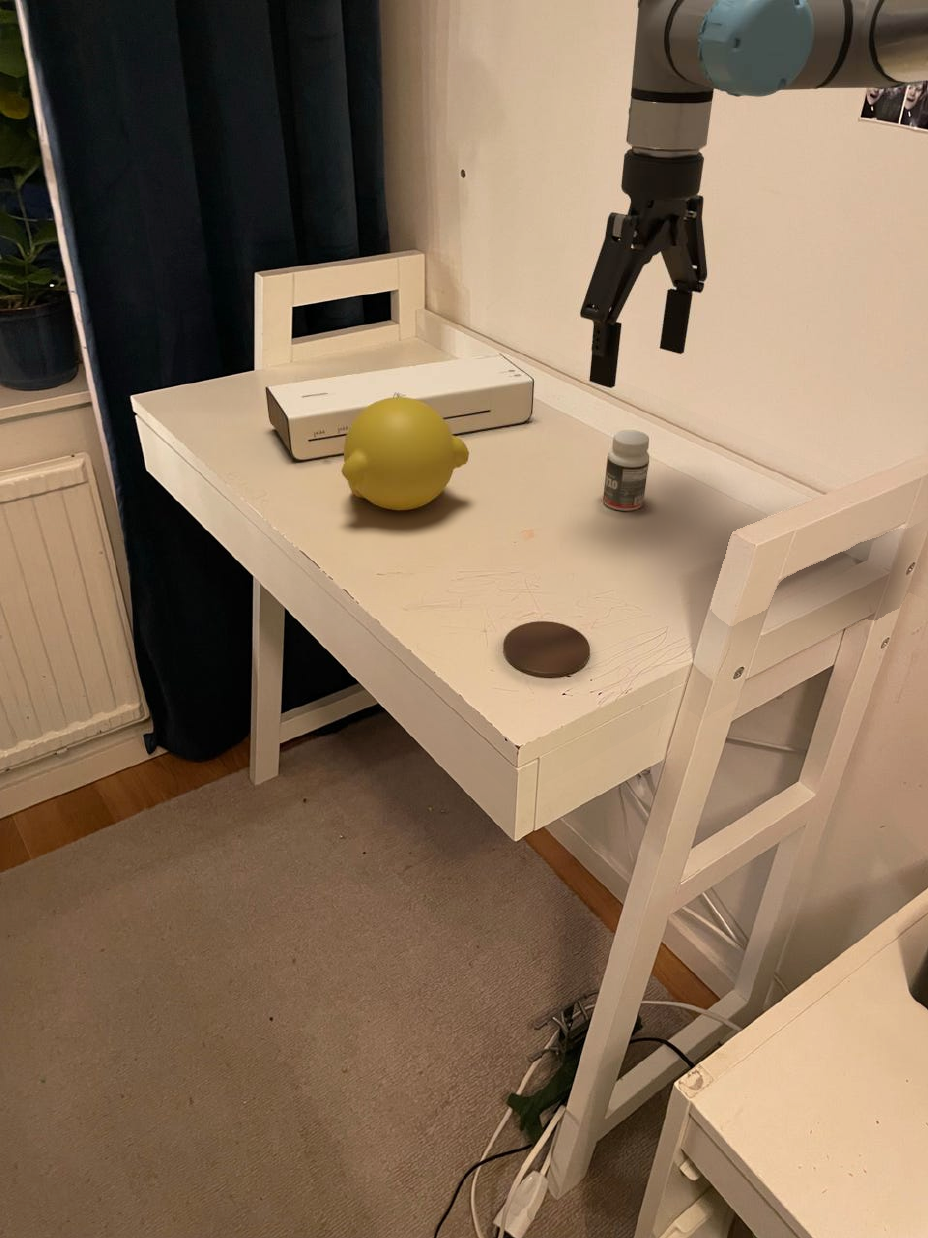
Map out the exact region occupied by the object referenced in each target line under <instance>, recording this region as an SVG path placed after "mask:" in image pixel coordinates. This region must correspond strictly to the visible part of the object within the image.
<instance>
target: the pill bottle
mask: <svg viewBox="0 0 928 1238" xmlns="http://www.w3.org/2000/svg"><path fill="white" fill-rule="evenodd" d="M611 444H612V445H611V447H612V448H610V449H609V451H608V454H607V460H606V469H605V477H604V486H603V495H602V499H603V503H604V505H606V506H607V507H608V508H610V509H612V510H616V511H622V512H630V511H636V510H638V509H640V508H641V507H642V506H643V504H644V500H645V493H646V485H647V480H648V472H649V465H650V454H649V452H648V450H649V446H650V437H649V435H647V434H646V433H645V432H642V431H639V430H635V429H626V430H625V429H624V430H619V431H617V432H615V433H614V435H613V437H612V443H611Z"/></svg>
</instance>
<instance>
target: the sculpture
mask: <svg viewBox="0 0 928 1238" xmlns="http://www.w3.org/2000/svg"><path fill="white" fill-rule="evenodd" d="M469 455H470V452H469V449H468V447H467V445H466V443H465V442H464V441H463V440H462V439H461V438H460V437H458V436H457V435H455V436H453V435H452V433H451V431H450V429H449V427H448V425H447V423H446V422H445V420H444V419H443V418H442V417H441V416H440V415H439V414H438V413H437V412H436V411H435V410H434V409H433V408H431V407H430V406H428V405H427V404H425V403H423V402H421V401H418V400H415V399H412V398H405V397H393V398H387V399H383V400H380V401H377V402H375V403H373V404H372V405H370V406H368V407H367V408H366V409H364V410H363V411H362V412H361V413H360V414H359V415H358V416H357V417H356V419H355V420H354V421H353V423H352V425H351V427H350V428H349V431H348V433H347V436H346V440H345V445H344V455H343V461H344V463H343V465H342V469H341V474H342V476H343V477H344V478H345V480H347V484H348V487H349V489H350V491H351V493H353V494H354V495H355V496H356V497H359V498H361V499H362V498H363V499H366V500H367V501H368V502H370V503H372V504H374V505H375V506H378V507H380V508H383V509H386V510H393V511H409V510H414V509H418V508H421V507H423V506H425V505H427V504H429V503H431V502H432V501H433V500H434V499H436V498H437V497H438V496H439V495H440V494H441V493H442V492H443V491H444V490H445V488H446V487H447V486H448V484H449V482H450V481H451V478H452V476H453V474H454V470H456V469H457V468H458V469H459V468H461V467H462V466H464V465H466V464H467V463H468V461H469Z"/></svg>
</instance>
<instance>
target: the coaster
mask: <svg viewBox="0 0 928 1238" xmlns="http://www.w3.org/2000/svg"><path fill="white" fill-rule="evenodd" d="M590 651H591V647H590V644H589V641H588V640H587V638H586V637H585V635H584V634H583V633H581V632H580V631H579V630H577V629H576V628H574V627H572V626H570V625H567V624H565V623H560V622H556V621H549V620H539V621H529V622H526V623H523V624H520V625H518V626H516V627H514V628H513V629H512V630H510V631H509V632H508V633H507V634H506V636H505V637H504V640H503V644H502V652H503V655H504V657H505V659H506V661H507V662H508V663H509V664H510V665H511V666H512V667H514V668H515V669H517V670H518V671H520V672H523V673H526V674H528V675H531V676H535V677H541V678H558V677H564V676H568V675H571V674H574V673H576V672H577V671H579V670H581V669H582V668H583V667H584V666H585V665H586V664H587V662H588V660H589V659H590V654H591V653H590Z"/></svg>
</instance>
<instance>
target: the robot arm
mask: <svg viewBox="0 0 928 1238" xmlns="http://www.w3.org/2000/svg"><path fill="white" fill-rule="evenodd" d="M637 9H638V12H637V22H636V34H635V44H634V55H633V56H634V57H633V65H632V66H633V67H632V77H631V78H632V79H631V88H630V89H631V90H630V102H629V103H630V104H629V108H628V121H627V129H626V138H625V141H626V143H627V145H628V146H630V147H631V148H630V149H627V151H626V152H625V153H624V155H623V163H622V174H621V185H620V186H621V191H622V192H623V193H624V194H625V195H627V196H628V198H629V199H630V203H629V207H628V210H627V213H626V214H624V213H619V212H613V211H611V212H610V213H609V215H608V217H607V222H606V229H605V235H604V239H603V243H602V245H601V248H600V252H599V254H598V256H597V257H598V258H597V261H596V262H595V263H596V264H595V267H594V269H593V272H592V275H591V279H590V281H589V284H588V286H587V291H586V293H585V296H584V299H583V303H582V305H581V308H580V311H579V316H580V318H582V319H584V320H588V321H592V323H593V324H592V325H593V328H592V338H591V339H592V340H591V348H590V349H591V356H590V357H591V359H590V367H589V368H590V369H589V378H588V379H589V382H590V383H593V384H596V385H600V386H602V387H607V388H609V389H612V388H614V387H615V386H616V379H617V371H618V370H617V369H618V361H619V352H620V344H621V335H622V333H621V332H622V322H618V319H619V317H620V315H621V313H622V311H623V309H624V308H625V307H624V306H625V304H626V302H627V300H628V298H629V296H630V294H631V293H632V290H633V288H634V286H635V284H636V282H637V280H638V278H639V276H640V274H641V273H642V270H643V268H644V267H645V265H647V264H649V263H651V261H652V259H653V257H655V256H657V255H658V254H661V257H662V259H663V262H664V265H665V268H666V270H667V273H668V276H669V278H670V282H671V284H672V286H673V288H669V289H667V291H666V299H665V306H664V313H663V321H662V329H661V336H660V344H659V349H660V350H664V351H668V352H671V353H675V354H678V355H682V354H684V353H685V348H686V341H687V334H688V329H689V328H688V327H689V321H690V316H691V309H692V302H693V301H692V300H693V295H694V293H698V294H701V293H702V292H703V290H704V288H705V282H706V280H707V278H708V264H707V255H706V245H705V235H704V234H705V233H704V226H703V212H704V211H703V210H704V202H705V201H704V196H703V195H701V194H700V195H699V193H700V189H701V182H702V177H703V176H702V175H703V169H704V162H705V157H704V156H703V153H702V152H700V150H702V149H704V148H705V147H706V146H707V144H708V137H709V130H710V129H709V128H710V121H711V114H712V105H713V99H714V93H715V90H718V91H720V92H725V93H726V94H727V95H729V96H733V97H736V98H739V97H744V96H747V97H755V98H756V97H757V98H760V97H767V96H771V95H774V94H776V93H777V92H779V91H790V90H791V91H792V90H811V89H812V90H818V89H877V90H878V89H879V90H881V89H882V90H884V89H886V90H887V89H898V88H899V89H900V88H902V87H906V86H907V87H908V86H915V85H918V84H921V83H922V82H925V81H926V82H927V81H928V0H637ZM693 292H694V293H693Z"/></svg>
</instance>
